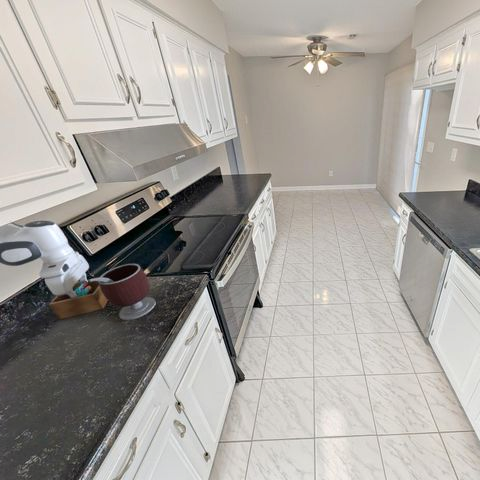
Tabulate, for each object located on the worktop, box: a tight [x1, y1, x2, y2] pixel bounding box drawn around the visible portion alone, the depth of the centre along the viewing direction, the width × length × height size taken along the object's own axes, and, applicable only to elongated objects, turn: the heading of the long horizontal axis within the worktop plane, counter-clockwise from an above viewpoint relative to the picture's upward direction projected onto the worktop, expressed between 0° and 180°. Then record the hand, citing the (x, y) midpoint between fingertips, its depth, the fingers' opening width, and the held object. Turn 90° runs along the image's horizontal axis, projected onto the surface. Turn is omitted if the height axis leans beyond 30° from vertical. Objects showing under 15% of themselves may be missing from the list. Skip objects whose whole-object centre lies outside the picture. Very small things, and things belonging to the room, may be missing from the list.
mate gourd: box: [88, 263, 157, 321], centre depth 95 cm, size 16×14×20 cm
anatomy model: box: [67, 284, 91, 297], centre depth 103 cm, size 5×8×7 cm
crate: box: [48, 278, 109, 320], centre depth 104 cm, size 15×14×8 cm
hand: (80, 290), depth 102 cm, fingers closed on anatomy model, 7 cm apart
